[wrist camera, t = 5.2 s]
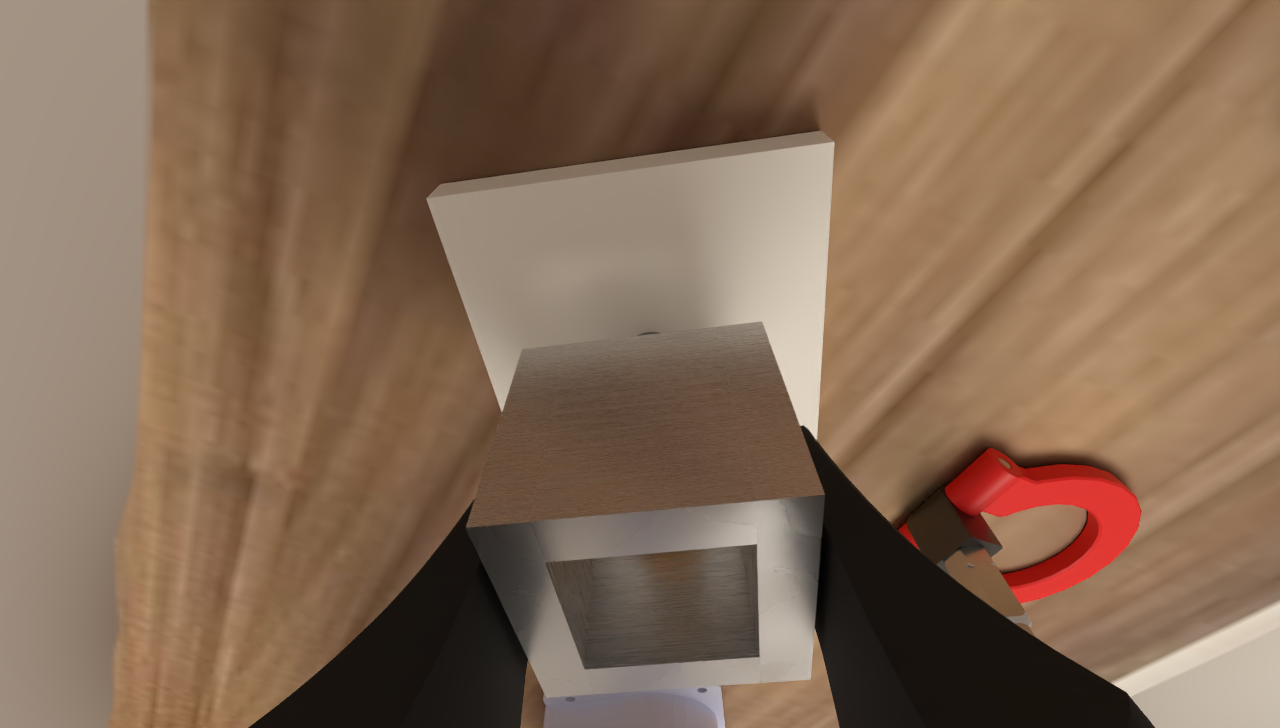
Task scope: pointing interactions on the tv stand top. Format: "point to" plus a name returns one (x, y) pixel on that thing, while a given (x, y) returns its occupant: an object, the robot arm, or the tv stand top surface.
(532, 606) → the hollow square tube
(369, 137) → the tv stand top surface
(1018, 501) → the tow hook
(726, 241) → the plate
